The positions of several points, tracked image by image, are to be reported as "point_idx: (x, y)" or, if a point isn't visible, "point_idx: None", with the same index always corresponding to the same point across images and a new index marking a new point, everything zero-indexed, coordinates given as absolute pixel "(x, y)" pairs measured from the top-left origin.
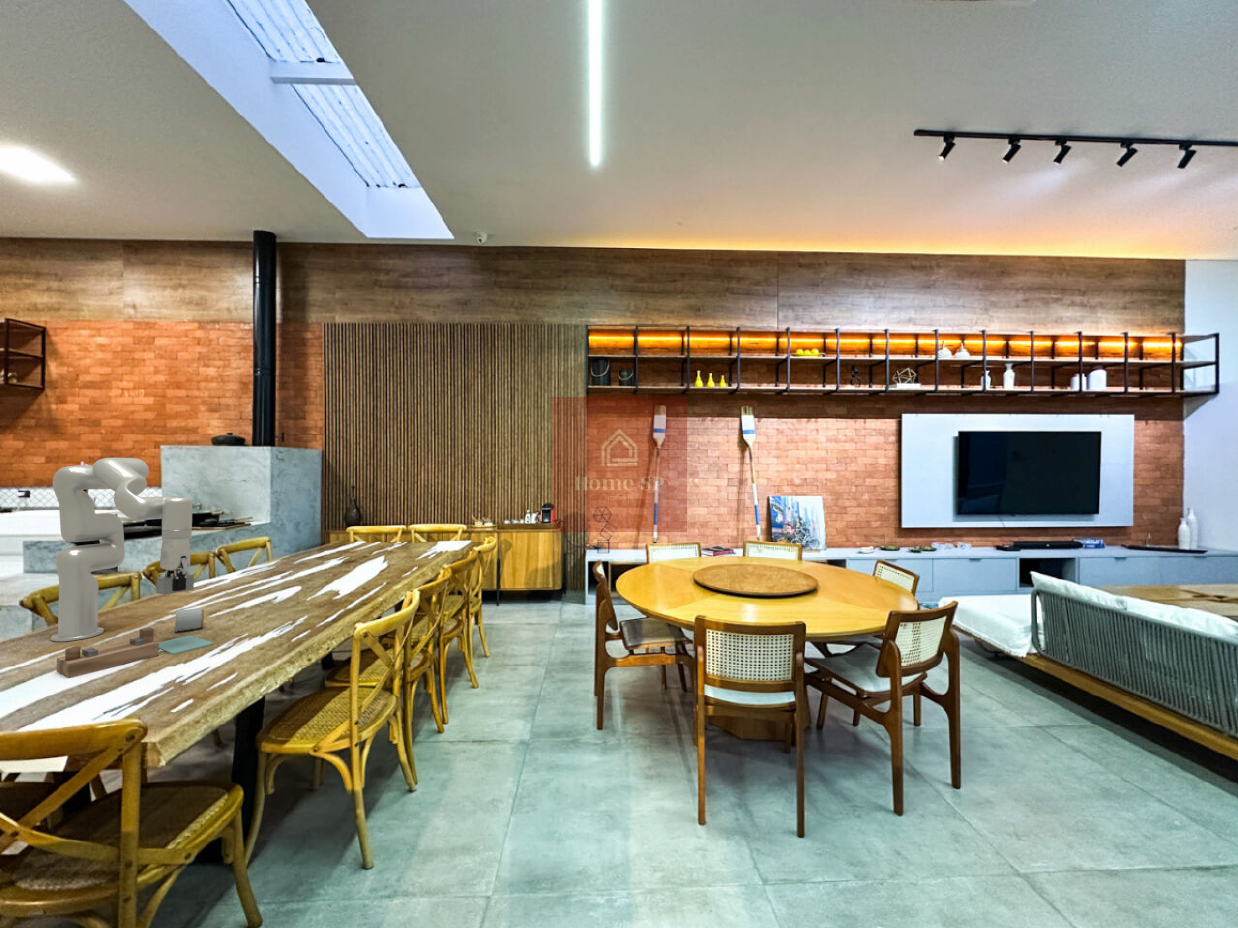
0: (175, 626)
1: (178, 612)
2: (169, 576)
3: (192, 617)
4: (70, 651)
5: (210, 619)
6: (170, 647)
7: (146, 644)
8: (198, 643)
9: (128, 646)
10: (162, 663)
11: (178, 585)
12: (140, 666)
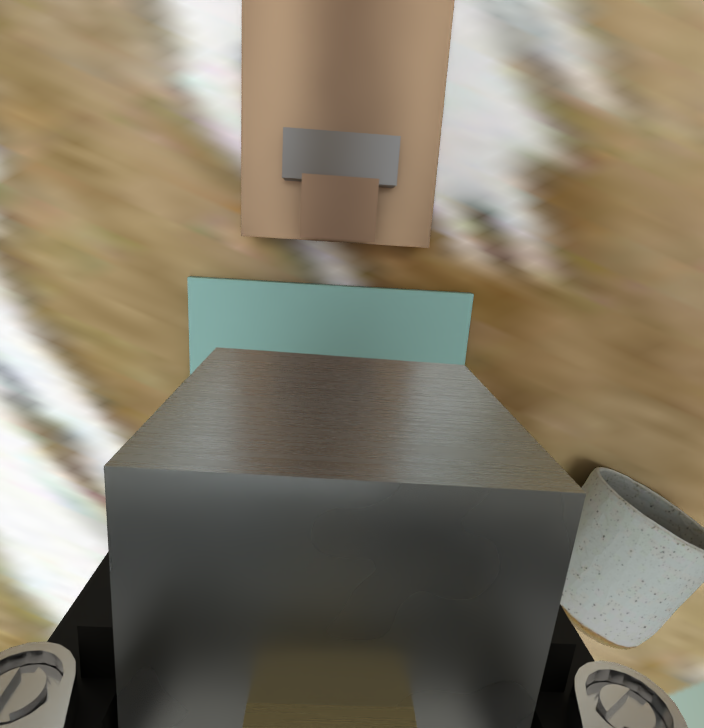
0: (596, 475)
1: (661, 542)
2: (402, 683)
3: (575, 563)
4: None
5: (661, 644)
6: (311, 318)
7: (272, 182)
8: None
9: (327, 103)
10: (79, 176)
11: (102, 572)
12: (126, 91)
